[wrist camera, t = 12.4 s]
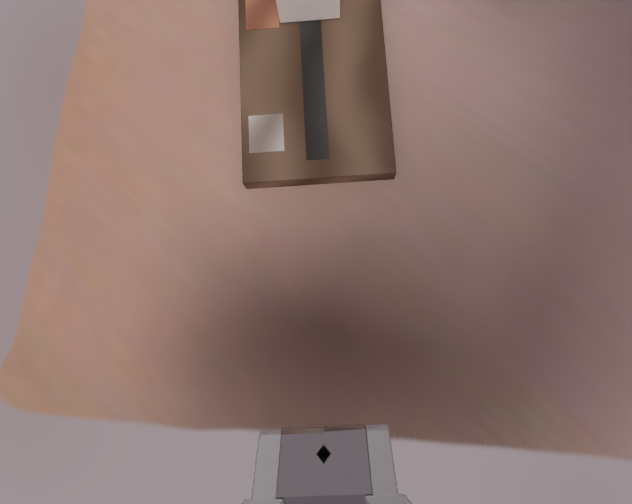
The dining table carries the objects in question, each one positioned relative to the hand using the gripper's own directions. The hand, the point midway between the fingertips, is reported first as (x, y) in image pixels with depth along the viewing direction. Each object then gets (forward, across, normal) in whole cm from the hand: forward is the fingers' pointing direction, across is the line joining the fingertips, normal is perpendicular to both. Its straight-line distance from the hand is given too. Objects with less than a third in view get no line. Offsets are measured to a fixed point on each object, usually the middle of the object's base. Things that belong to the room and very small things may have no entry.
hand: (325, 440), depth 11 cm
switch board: (+35, 0, -2) cm, 35 cm away
